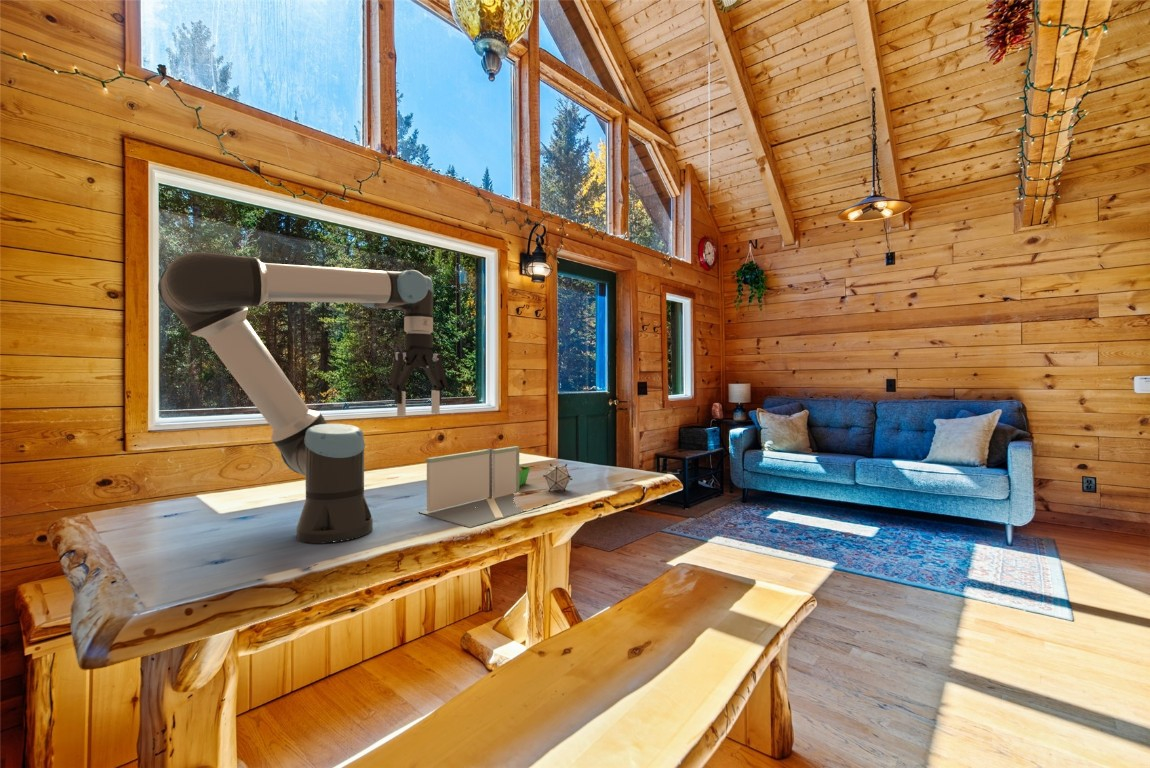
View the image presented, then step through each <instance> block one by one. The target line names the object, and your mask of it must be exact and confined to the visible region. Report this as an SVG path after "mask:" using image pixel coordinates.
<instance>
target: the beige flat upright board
mask: <svg viewBox="0 0 1150 768" xmlns="http://www.w3.org/2000/svg"><path fill="white" fill-rule="evenodd" d="M492 450H493V448H490V447H489V448H487V449H479V450H472V451H467V452H459V453H452V454H447V455H440V456H432V457H427V458H426V460H425V461H426V462H425V463H426V510H427V511H429V512H431V511H435V510H439V509H443V508H447V507H451V506H455V505H460V504H464V503H468V502H472V501H476V500H480V499H484V498H492Z"/></svg>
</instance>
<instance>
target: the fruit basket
mask: <svg viewBox="0 0 1150 768" xmlns="http://www.w3.org/2000/svg"><path fill="white" fill-rule="evenodd" d="M530 470H531V467H529V466H520V465H519V487H521V486H523V485H525V484H526V483H527V479H528V477H529V472H530ZM524 483H525V484H524ZM522 484H523V485H522ZM520 485H521V486H520Z"/></svg>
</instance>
